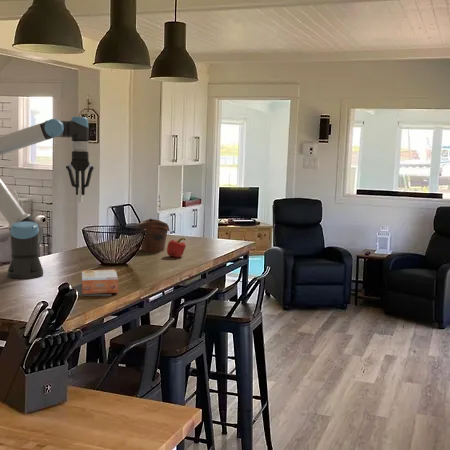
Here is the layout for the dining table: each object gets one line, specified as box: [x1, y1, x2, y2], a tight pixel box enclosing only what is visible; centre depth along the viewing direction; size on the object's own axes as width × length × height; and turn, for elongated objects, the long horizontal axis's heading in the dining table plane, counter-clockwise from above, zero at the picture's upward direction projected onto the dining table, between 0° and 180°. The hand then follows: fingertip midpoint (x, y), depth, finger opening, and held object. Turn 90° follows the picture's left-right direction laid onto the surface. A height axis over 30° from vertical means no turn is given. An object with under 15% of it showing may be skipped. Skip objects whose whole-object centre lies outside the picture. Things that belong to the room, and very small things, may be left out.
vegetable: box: [166, 237, 187, 259], centre depth 334 cm, size 11×10×10 cm
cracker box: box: [81, 268, 119, 294], centre depth 253 cm, size 14×6×21 cm
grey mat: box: [73, 283, 113, 297], centre depth 253 cm, size 16×20×1 cm
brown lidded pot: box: [136, 218, 170, 253], centre depth 355 cm, size 18×20×18 cm
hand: (80, 202), depth 291 cm, fingers closed
